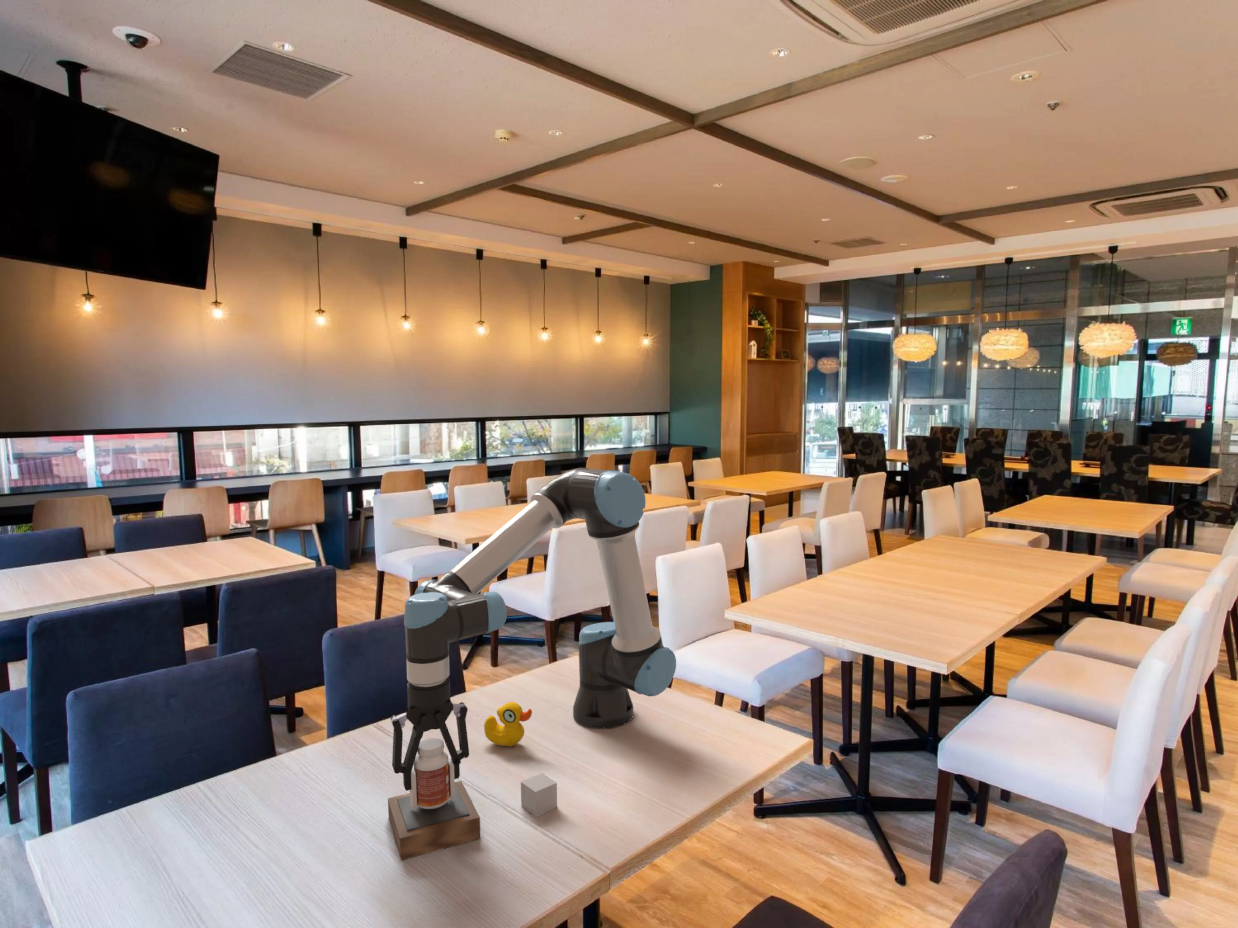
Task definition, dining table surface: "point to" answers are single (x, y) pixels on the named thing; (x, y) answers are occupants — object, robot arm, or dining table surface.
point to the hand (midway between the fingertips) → (432, 799)
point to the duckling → (507, 725)
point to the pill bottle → (432, 774)
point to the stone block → (538, 794)
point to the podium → (433, 824)
